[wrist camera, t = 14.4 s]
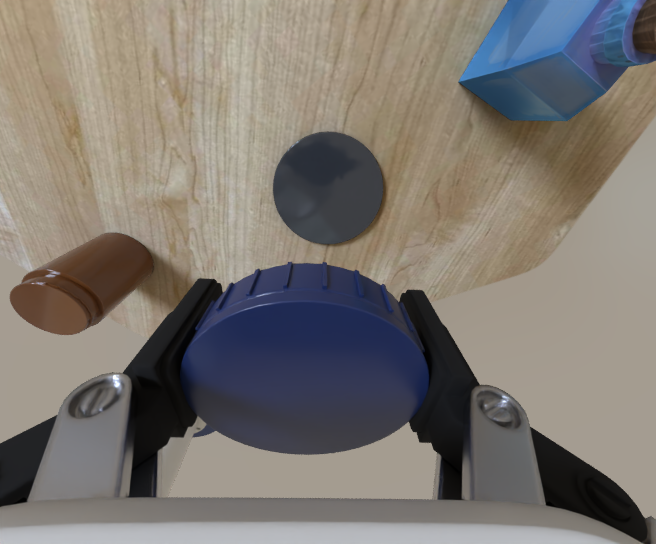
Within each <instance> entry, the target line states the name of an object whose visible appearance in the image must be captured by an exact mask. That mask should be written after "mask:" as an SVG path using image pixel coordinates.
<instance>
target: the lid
mask: <svg viewBox="0 0 656 544" xmlns="http://www.w3.org/2000/svg"><path fill="white" fill-rule="evenodd" d="M195 330H197V331H196V333H195V335H194V336H193V338H192V340H191V341H190V343H189V345H188V346H187V348H186V352H185V354H184V357H183V360H182V363H181V369H180V382H181V385H182V389H183V392H184V394H185V397H186V400H187V402H188V404H189V406H190V407H191V409H192V410H193V411H194V412H195V414H196V415H197V416H198V417H199V418H200V419H201V420H203V421H204V422H205V423H206V424H207V425H209V426H210V427H211V428H213V429H214V430H216V431H218V432H219V433H221V434H223V435H225V436H226V437H228V438H231V439H233V440H235V441H238V442H240V443H243V444H245V445H248V446H252V447H255V448H259V449H263V450H268V451H273V452H279V453H287V454H306V455H307V454H308V455H309V454H327V453H335V452H341V451H347V450H351V449H355V448H359V447H362V446H365V445H368V444H371V443H374V442H376V441H378V440H381V439H383V438H385V437H387V436H389V435H391V434H392V433H394V432H395V431H397V430H398V429H400V428H401V427H402V426H404V425H405V424H406V423H407V422H409V421H410V420H411V418H412V417H413V416H414V415H415V414H416V413H417V412H418V410H419V409H420V407H421V405H422V403H423V401H424V399H425V397H426V394H427V392H428V388H429V370H428V365H427V362H426V360H425V357H424V354H423V352H425V350H424V347H423V345H422V343H421V340H420V338H419V336H418V334H417V331H416V329H415V327H414V324H413V322H411V320H410V318H409V316H408V313H407V311H406V309H405V306H404V304H403V303H402V302H401V303H399V302H398V301H397V300H396V299H395V298H394V296H393V295H392V294H390V293H389V292H388V291H387V289H386V286H385V285H384V284H382V285H380V284H378V283H376V282H374V281H372V280H371V279H369V278H367V277H365V276H363V275H361V274H359V271H357V270H355V271H351V270H347V269H344V268H340V267H335V266H330V265H327V263H326V262H323V264H310V263H303V264H292V262H288V264H287V265H282V266H276V267H272V268H269V269H265V270H261V271H260V269H257V270H256V271H255V273H254V274H252V275H250V276H247V277H245V278H243V279H242V280H240V281H238V282H237V283H235V284H233V283H230V284H229V286H228V287H227V289H226V291H225V292H224V293H223V294H222V295H221V296H220V297H219V298H218V299H217V300H216V302H215V301H212V302H211V304H210V305H209V307H208V309H207V310H206V312H205V314H204V315H203V317H202V319H201V320H200V322H199V324H198V325H197V327H196V329H195Z"/></svg>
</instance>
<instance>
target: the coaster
mask: <svg viewBox="0 0 656 544" xmlns="http://www.w3.org/2000/svg"><path fill="white" fill-rule="evenodd" d="M273 195H274V201H275V204H276V208H277V210H278V212H279V214H280V216H281V218H282V219H283V221H284V222H285V224H286V225H287V226H288V227H289V228H290V229H291V230H292V231H293V232H294V233H296V234H297V235H299V236H300V237H302V238H304V239H306V240H308V241H311V242H315V243H320V244H336V243H341V242H344V241H348V240H350V239H352V238H354V237H356V236H357V235H359V234H360V233H361V232H363V231H364V230H365V229H366V228H367V227H368V226H369V225H370V224H371V222H372V221H373V220H374V218H375V216H376V215H377V212H378V210H379V208H380V205H381V201H382V196H383V179H382V174H381V171H380V168H379V165H378V163H377V161H376V159H375V157H374V156H373V155H372V153H371V152H370V151H369V150H368V149H367V148H366V147H365V146H364V145H363V144H362V143H360V142H359V141H358V140H356V139H354V138H352V137H351V136H348V135H345V134H342V133H337V132H319V133H315V134H311V135H309V136H306V137H304V138H302V139H301V140H299V141H297V142H296V143H295V144H294V145H292V146H291V147H290V148H289V149H288V151H287V152H286V153H285V154H284V156H283V157H282V158H281V160H280V162H279V164H278V166H277V169H276V172H275V176H274V182H273Z"/></svg>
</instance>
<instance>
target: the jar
mask: <svg viewBox="0 0 656 544" xmlns="http://www.w3.org/2000/svg"><path fill="white" fill-rule="evenodd" d="M153 267H154V266H153V260H152V257H151V255H150V254H149V252H148V251H147V249H146V248H145V247H144V246H143V245H142V244H140V243H139V242H138V241H136V240H135V239H133V238H131V237H129V236H127V235H124V234H120V233H105V234H102V235H100V236H98V237H96V238H94V239H92V240H90V241H88V242H86V243H85V244H83V245H81V246H79V247H77V248H75V249H73V250H71V251H69V252H67V253H66V254H64V255H62V256H60V257H58V258H56V259H54V260H52V261H50V262H48V263H47V264H45V265H43V266H41V267H39V268H37V269H35V270H33V271H31V272H30V273H28V274H27V275H26V276H24V278H23V280H22V283H21V284H19V285H17V286H16V287H14V288H13V289H12V291H11V293H10V302H11V304H12V306H13V308H14V309H15V311H16V312H17V313H18V314H19V315H20V316H21V317H22V318H23V319H25V320H26V321H27V322H29V323H30V324H32V325H34V326H35V327H38V328H39V329H42V330H44V331H48V332H50V333H54V334H60V335H73V334H77V333H80V332H81V331H83V330H85V329H87V328H88V327H90V326H93V325H96V324H98V323H99V322H100V321H101V320H102V319H104V318H105V317H106V316H107V315H108V314H109V313H110V312H111V311H112V310H113V309H114V308H116V307H117V306H118V305H119V304H120V303H121V302H122V301H123V300H124V299H125V298H126V297H128V296H129V295H130V294H131V293H132V292H133V291H134V290H135V289H136V288H137V287H138V286H140V285H141V284H142V283H143V282H144V281H145V280H146V279H147V278H148V277H149V276H150V275H151V274H152V272H153Z"/></svg>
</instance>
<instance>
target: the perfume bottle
mask: <svg viewBox="0 0 656 544" xmlns="http://www.w3.org/2000/svg"><path fill="white" fill-rule="evenodd" d="M653 61H656V0H508V2H507V4H506V5H505V7H504V9H503V10H502V12H501V13H500V15H499V17H498V18H497V20H496V22H495V23H494V25H493V26H492V28H491V30H490V31H489V33H488V35H487V36H486V38H485V39H484V41H483V43H482V44H481V46H480V48H479V49H478V51H477V52H476V54H475V56H474V57H473V59H472V61H471V62H470V64H469V65H468V67H467V69H466V70H465V72H464V74H463V75H462V77H461V78H460V80H459V83H461V84H462V85H463V86H465V87H466V88H467V89H469V90H470V91H471V92H473V93H474V94H476V95H477V96H478V97H480V98H481V99H482V100H484V101H485V102H487V103H488V104H489V105H491V106H492V107H493V108H495V109H496V110H497V111H499V112H500V113H502V114H503V115H504V116H506V117H507V118H508V119H510V120H528V121H568V120H569V119H571V118H572V117H574V116H575V115H576V114H578V113H579V112H580V111H582V110H583V109H584V108H586V107H587V106H588V105H590V104H591V103H592V102H594V101H595V100H596V99H598V98H599V97H601V96H602V95H603V94H605V93H606V92H607V91H608V90H609V89H610V88H611V87H612V85H613V84H614V83H615V82H616V81H617V80H618V78H619V77H620V76H621V75H622V74H623V73H624V72H625V70H626V69H627V68H628V67H630V66H636V65H642V64H648V63H651V62H653Z"/></svg>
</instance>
